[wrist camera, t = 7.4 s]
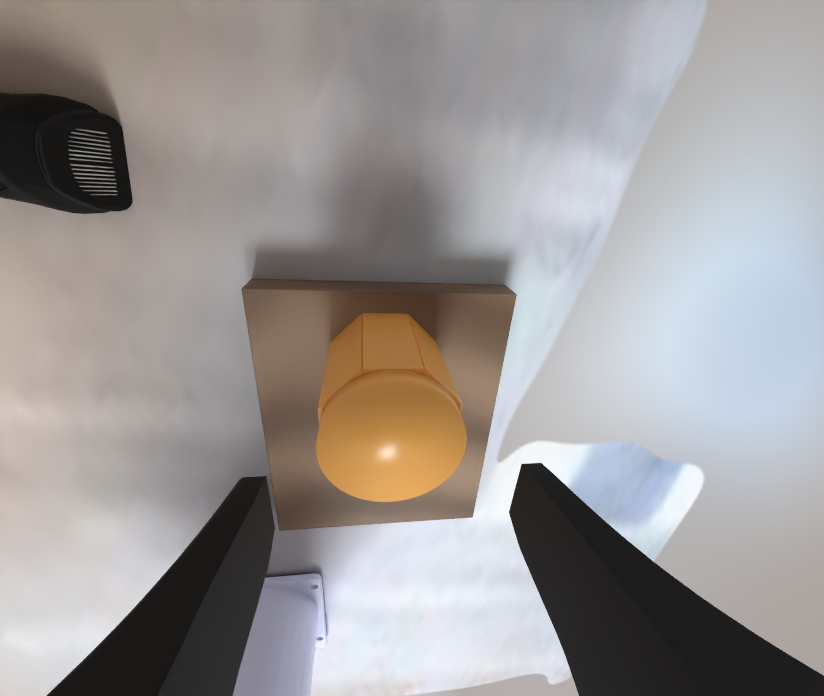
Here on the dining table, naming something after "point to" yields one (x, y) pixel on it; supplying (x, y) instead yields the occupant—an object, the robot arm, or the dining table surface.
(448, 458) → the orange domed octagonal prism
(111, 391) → the dining table surface
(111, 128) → the electric trimmer
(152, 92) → the dining table surface
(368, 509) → the board
